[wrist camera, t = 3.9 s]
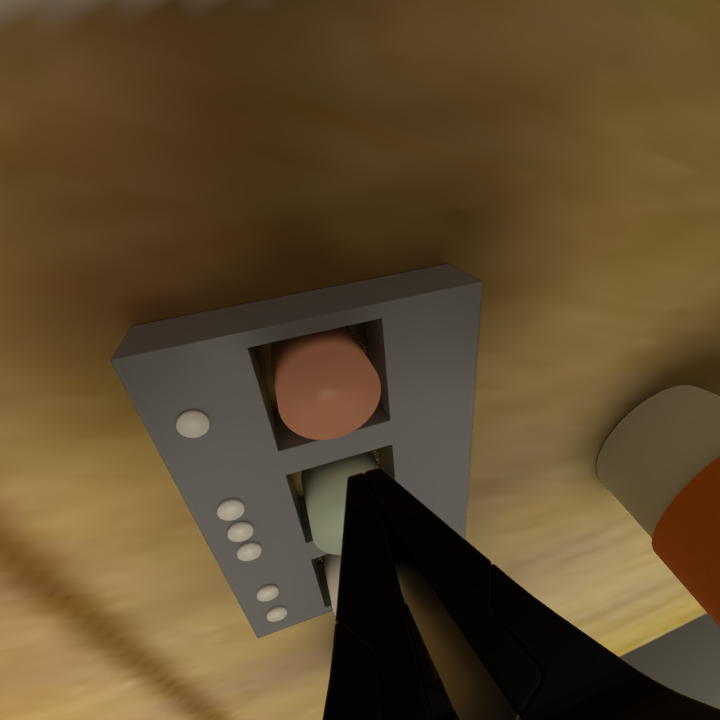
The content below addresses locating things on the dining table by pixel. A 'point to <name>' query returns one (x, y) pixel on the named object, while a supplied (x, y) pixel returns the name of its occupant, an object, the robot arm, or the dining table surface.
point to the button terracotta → (324, 384)
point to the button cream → (332, 576)
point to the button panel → (294, 452)
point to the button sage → (331, 498)
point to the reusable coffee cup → (673, 483)
